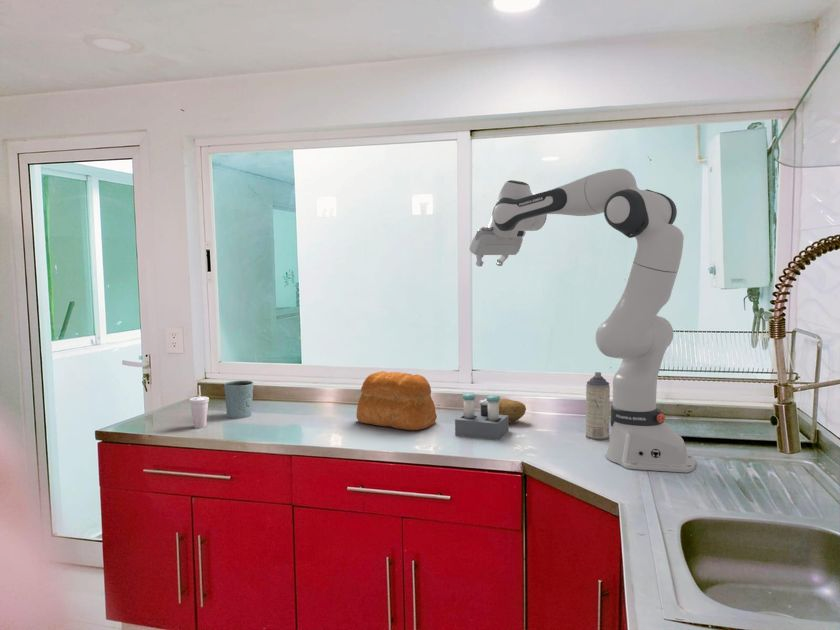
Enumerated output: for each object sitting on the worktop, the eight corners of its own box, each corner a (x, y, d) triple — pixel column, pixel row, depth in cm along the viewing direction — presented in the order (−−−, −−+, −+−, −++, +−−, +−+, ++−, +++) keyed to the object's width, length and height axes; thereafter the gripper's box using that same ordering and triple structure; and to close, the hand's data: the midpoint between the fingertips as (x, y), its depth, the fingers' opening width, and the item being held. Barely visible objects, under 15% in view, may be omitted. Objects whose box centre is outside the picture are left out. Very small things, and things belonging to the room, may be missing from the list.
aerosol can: (613, 439, 179) (614, 373, 177) (593, 441, 177) (593, 375, 176) (601, 433, 186) (601, 370, 184) (581, 435, 184) (582, 371, 182)
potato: (520, 428, 193) (520, 404, 192) (480, 423, 200) (480, 399, 199) (530, 421, 201) (530, 397, 201) (491, 416, 208) (491, 394, 208)
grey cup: (223, 414, 217) (222, 381, 216) (252, 411, 221) (251, 379, 220) (227, 420, 208) (225, 386, 207) (256, 417, 212) (255, 383, 211)
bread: (417, 433, 188) (416, 380, 187) (351, 423, 202) (350, 373, 200) (441, 422, 202) (440, 372, 200) (378, 413, 215) (377, 366, 214)
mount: (508, 430, 190) (508, 400, 189) (498, 440, 180) (498, 408, 179) (467, 426, 196) (467, 396, 195) (455, 435, 186) (454, 404, 185)
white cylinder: (477, 416, 189) (477, 393, 189) (472, 419, 186) (472, 396, 185) (465, 414, 191) (465, 392, 190) (460, 417, 187) (460, 395, 187)
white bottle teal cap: (501, 418, 186) (501, 395, 185) (497, 421, 182) (497, 398, 182) (489, 417, 187) (489, 394, 187) (485, 420, 184) (484, 397, 183)
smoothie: (213, 424, 203) (211, 383, 202) (205, 429, 196) (203, 387, 195) (195, 424, 203) (193, 383, 202) (186, 429, 197) (184, 387, 196)
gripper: (485, 231, 187) (471, 270, 193) (529, 232, 199) (515, 269, 205) (472, 223, 191) (460, 261, 197) (516, 224, 203) (503, 261, 209)
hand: (488, 265), depth 201 cm, fingers open, 8 cm apart
